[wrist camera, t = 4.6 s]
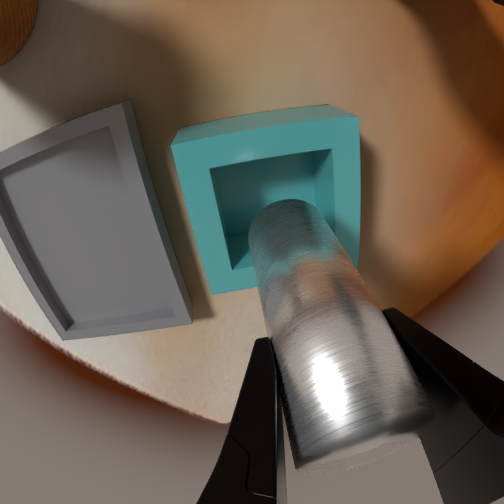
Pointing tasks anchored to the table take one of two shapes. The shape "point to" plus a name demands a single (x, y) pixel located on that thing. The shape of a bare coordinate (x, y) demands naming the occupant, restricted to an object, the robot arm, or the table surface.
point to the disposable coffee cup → (15, 26)
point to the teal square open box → (266, 181)
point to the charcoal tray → (91, 228)
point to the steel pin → (331, 347)
